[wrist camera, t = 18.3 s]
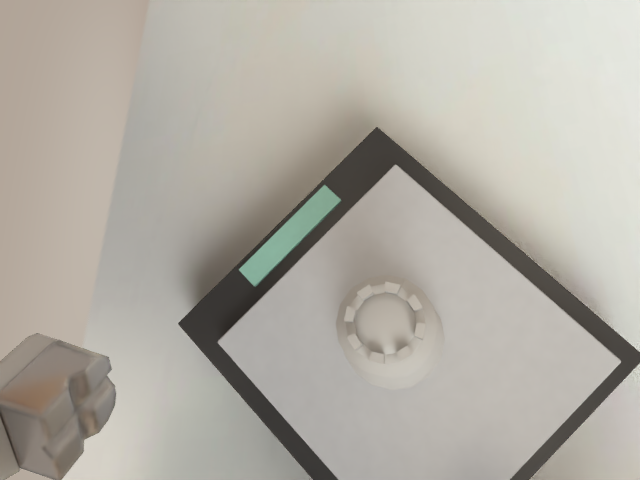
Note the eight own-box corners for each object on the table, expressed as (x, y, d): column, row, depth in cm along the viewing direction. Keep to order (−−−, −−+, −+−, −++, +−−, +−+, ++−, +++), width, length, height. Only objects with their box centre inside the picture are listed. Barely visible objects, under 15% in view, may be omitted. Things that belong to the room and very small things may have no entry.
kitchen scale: (199, 328, 30) (170, 322, 27) (380, 149, 31) (375, 119, 27) (415, 573, 26) (416, 606, 22) (620, 358, 27) (653, 356, 23)
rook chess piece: (367, 273, 26) (348, 230, 18) (460, 312, 25) (481, 285, 17) (327, 363, 25) (289, 358, 17) (420, 407, 24) (424, 423, 16)
